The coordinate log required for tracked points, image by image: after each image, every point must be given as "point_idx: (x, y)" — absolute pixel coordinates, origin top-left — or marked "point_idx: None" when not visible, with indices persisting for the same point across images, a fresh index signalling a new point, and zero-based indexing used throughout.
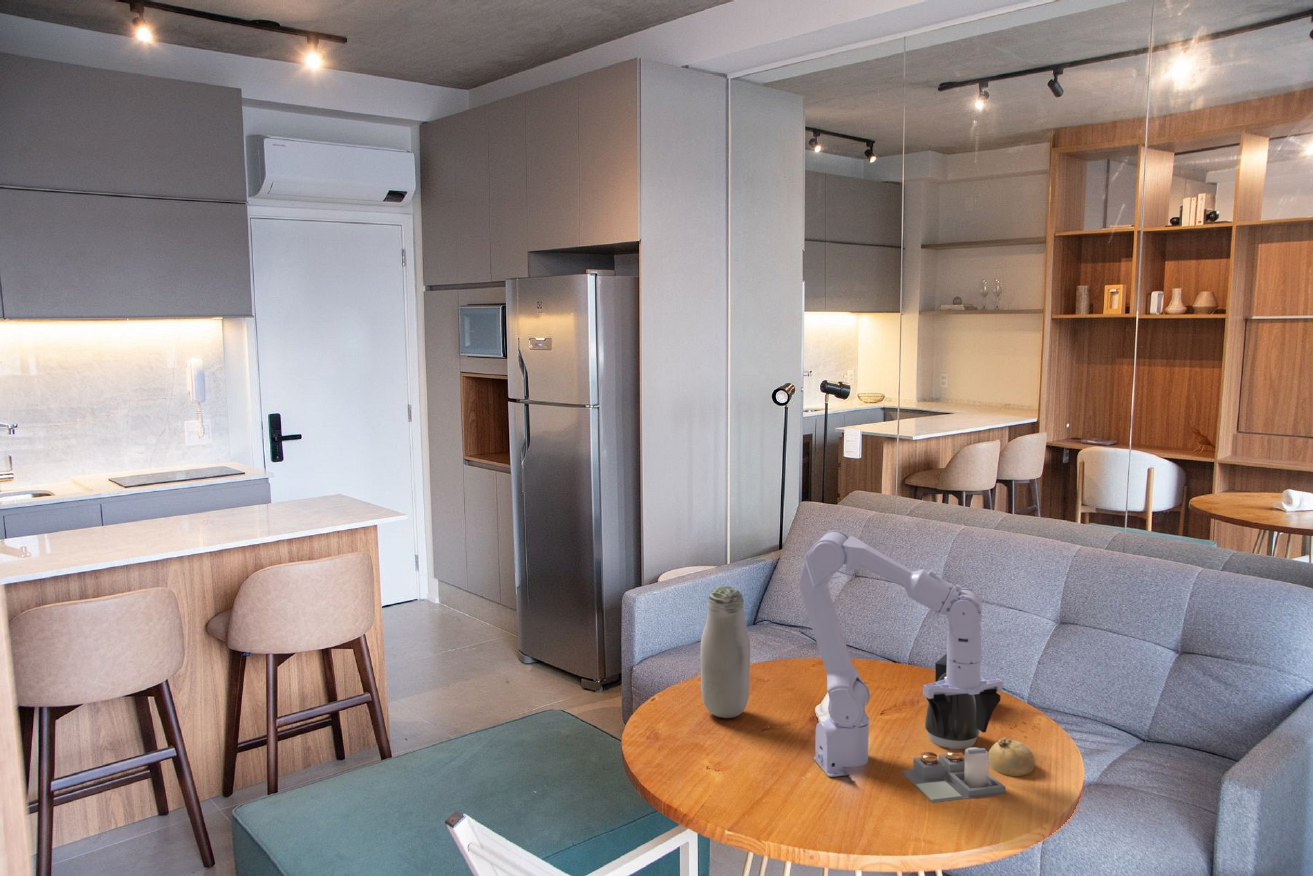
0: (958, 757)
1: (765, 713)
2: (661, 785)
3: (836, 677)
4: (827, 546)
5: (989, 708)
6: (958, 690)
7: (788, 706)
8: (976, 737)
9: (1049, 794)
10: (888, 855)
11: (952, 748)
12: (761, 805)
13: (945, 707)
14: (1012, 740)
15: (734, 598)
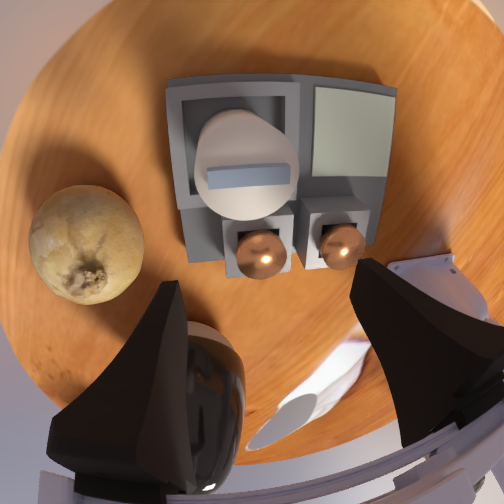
0: (260, 235)
1: (385, 394)
2: None
3: None
4: None
5: (137, 380)
6: (476, 468)
7: (352, 409)
8: None
9: (46, 122)
10: (489, 17)
11: (201, 325)
12: None
13: (489, 338)
14: (62, 284)
15: (475, 488)
